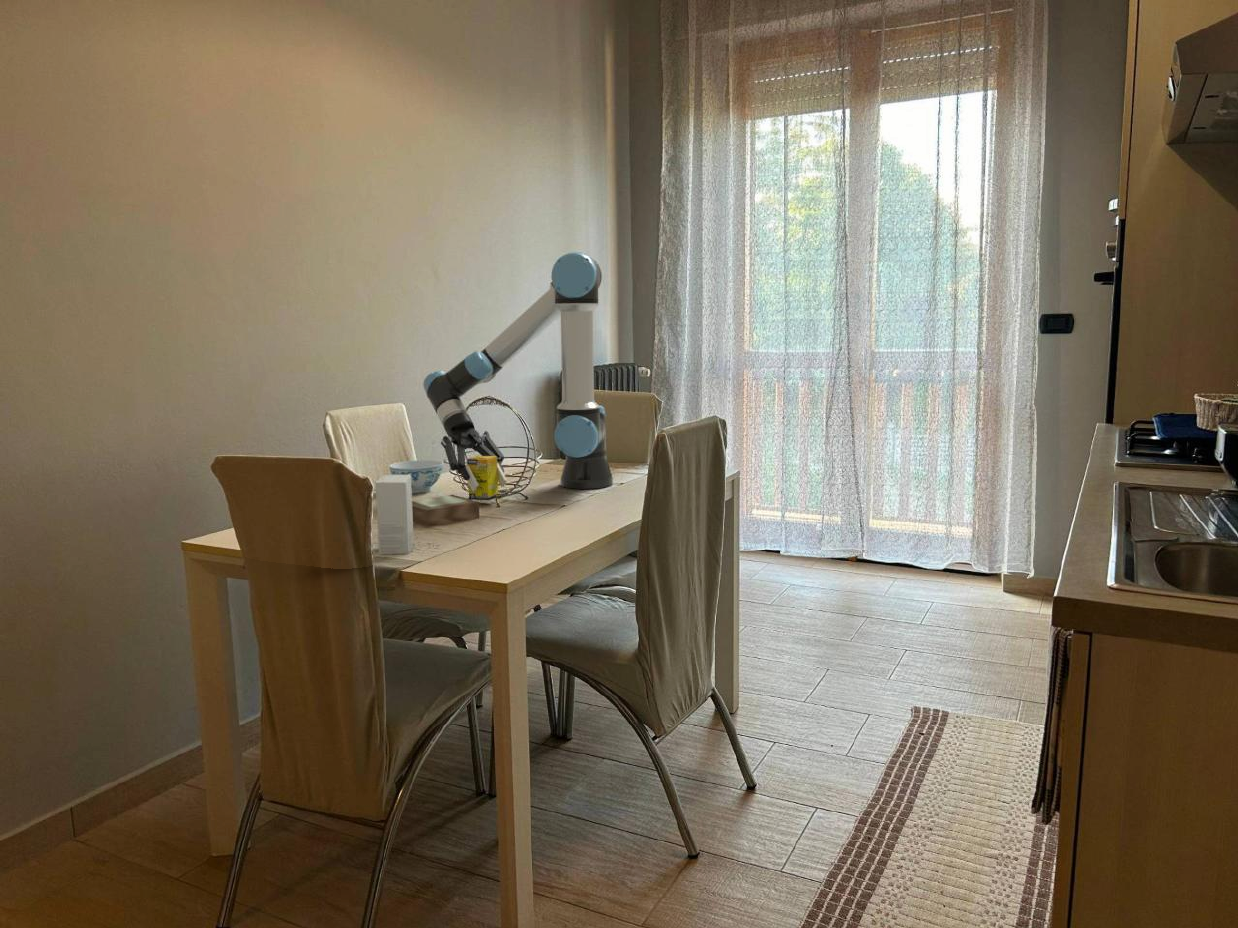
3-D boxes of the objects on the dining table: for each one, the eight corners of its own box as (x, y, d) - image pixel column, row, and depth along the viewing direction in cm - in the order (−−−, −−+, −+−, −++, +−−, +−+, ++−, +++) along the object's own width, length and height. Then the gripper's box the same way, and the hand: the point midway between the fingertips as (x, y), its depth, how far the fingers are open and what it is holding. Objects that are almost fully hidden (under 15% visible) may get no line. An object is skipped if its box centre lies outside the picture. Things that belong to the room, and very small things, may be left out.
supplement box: (468, 500, 240) (466, 458, 239) (479, 495, 246) (476, 455, 244) (489, 500, 238) (486, 459, 237) (499, 496, 244) (497, 455, 242)
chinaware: (404, 498, 253) (402, 470, 251) (382, 490, 265) (380, 464, 263) (453, 491, 261) (452, 464, 260) (430, 484, 273) (429, 458, 272)
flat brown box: (453, 510, 235) (452, 493, 234) (479, 517, 225) (478, 500, 224) (402, 518, 226) (401, 501, 226) (427, 526, 216) (426, 509, 216)
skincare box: (385, 545, 199) (381, 474, 197) (416, 544, 199) (412, 473, 197) (378, 555, 191) (373, 481, 188) (410, 554, 191) (406, 480, 189)
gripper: (484, 425, 258) (518, 489, 248) (416, 433, 245) (450, 500, 235) (493, 407, 253) (528, 471, 243) (424, 414, 240) (459, 482, 230)
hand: (490, 485), depth 239 cm, fingers closed on supplement box, 8 cm apart
